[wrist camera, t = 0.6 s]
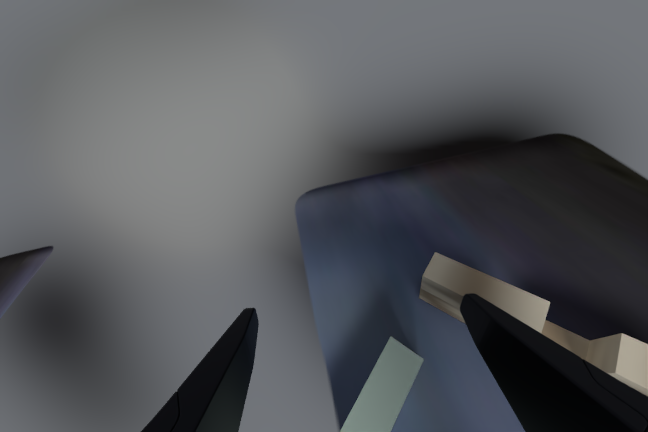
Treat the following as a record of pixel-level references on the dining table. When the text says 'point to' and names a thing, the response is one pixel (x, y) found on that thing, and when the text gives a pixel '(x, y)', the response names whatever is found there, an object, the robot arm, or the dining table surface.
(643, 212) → the dining table surface
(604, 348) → the birch slotted board
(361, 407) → the pale green slotted board
